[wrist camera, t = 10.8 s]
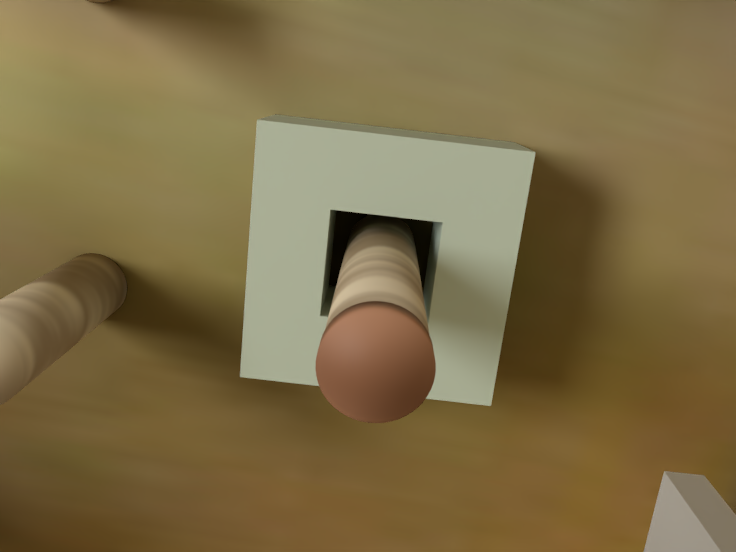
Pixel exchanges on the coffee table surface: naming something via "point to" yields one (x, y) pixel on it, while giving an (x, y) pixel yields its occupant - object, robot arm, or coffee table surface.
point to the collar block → (387, 198)
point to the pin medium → (54, 316)
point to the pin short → (99, 1)
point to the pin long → (377, 327)
